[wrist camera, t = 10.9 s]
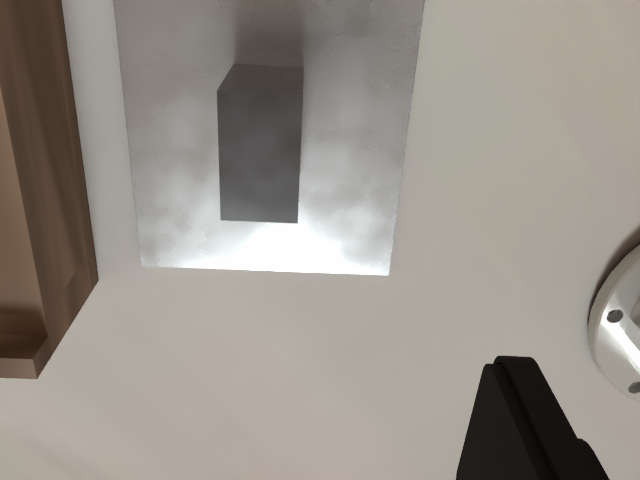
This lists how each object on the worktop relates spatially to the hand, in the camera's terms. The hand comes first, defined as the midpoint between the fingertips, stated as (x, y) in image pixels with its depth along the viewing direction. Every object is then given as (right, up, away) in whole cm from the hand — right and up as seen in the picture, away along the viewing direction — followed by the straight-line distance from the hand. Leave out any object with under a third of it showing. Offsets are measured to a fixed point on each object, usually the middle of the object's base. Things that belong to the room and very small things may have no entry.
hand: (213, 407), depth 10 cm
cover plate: (0, +9, +16) cm, 19 cm away
